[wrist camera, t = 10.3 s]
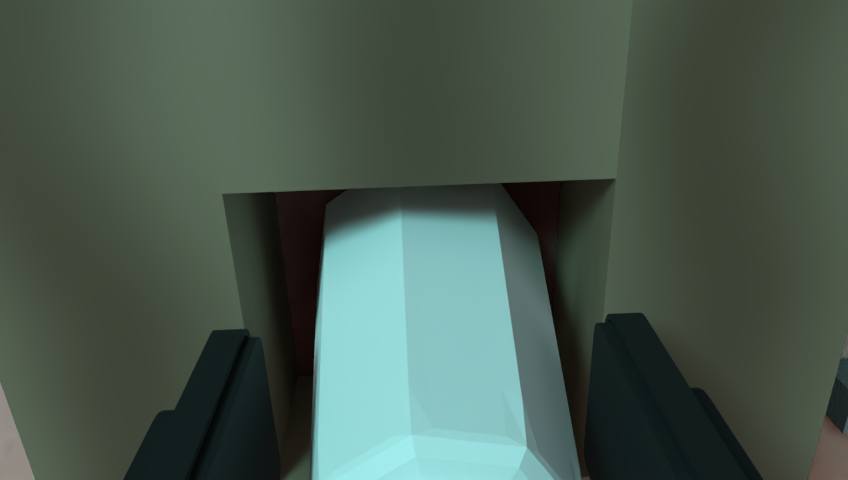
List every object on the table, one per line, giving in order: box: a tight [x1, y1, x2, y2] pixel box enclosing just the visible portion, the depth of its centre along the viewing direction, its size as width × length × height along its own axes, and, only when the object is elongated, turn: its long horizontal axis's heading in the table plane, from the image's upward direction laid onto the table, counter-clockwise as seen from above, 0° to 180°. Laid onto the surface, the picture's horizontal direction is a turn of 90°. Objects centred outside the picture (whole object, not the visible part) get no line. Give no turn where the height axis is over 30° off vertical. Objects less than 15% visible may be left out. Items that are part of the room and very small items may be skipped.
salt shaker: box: [309, 183, 581, 480], centre depth 11 cm, size 5×5×11 cm
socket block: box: [0, 0, 848, 480], centre depth 14 cm, size 16×18×4 cm
